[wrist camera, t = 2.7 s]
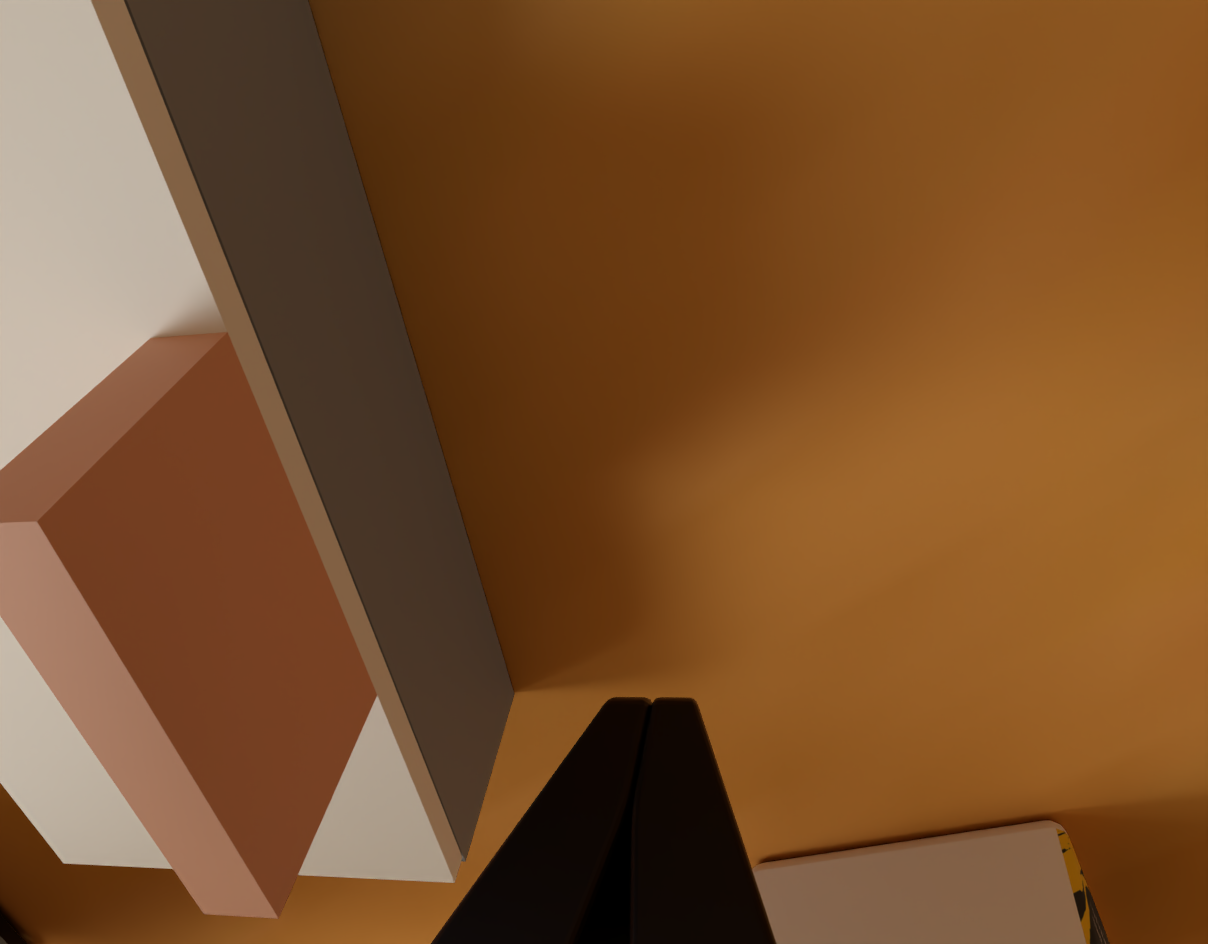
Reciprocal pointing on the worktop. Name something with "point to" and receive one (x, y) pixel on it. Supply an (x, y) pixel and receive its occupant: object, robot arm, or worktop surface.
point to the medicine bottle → (936, 891)
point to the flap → (168, 523)
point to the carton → (338, 358)
